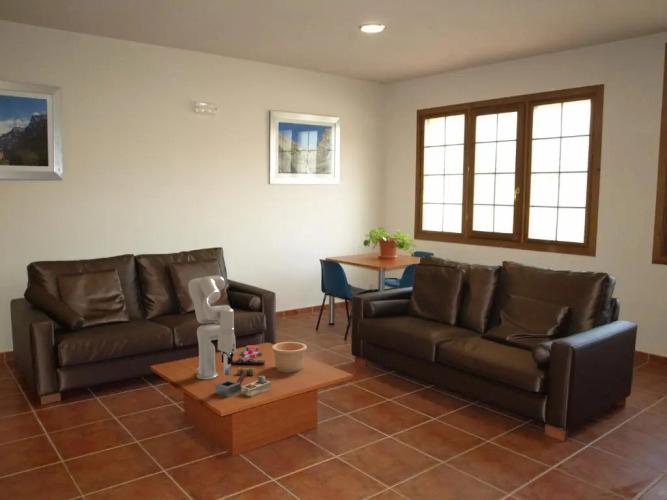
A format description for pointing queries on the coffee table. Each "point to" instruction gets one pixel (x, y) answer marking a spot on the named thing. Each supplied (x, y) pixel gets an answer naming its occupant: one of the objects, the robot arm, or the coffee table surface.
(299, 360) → the pottery
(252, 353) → the race car
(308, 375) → the coffee table surface
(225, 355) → the silver metal cylinder
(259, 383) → the rack
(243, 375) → the gavel
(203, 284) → the robot arm
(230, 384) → the socket
